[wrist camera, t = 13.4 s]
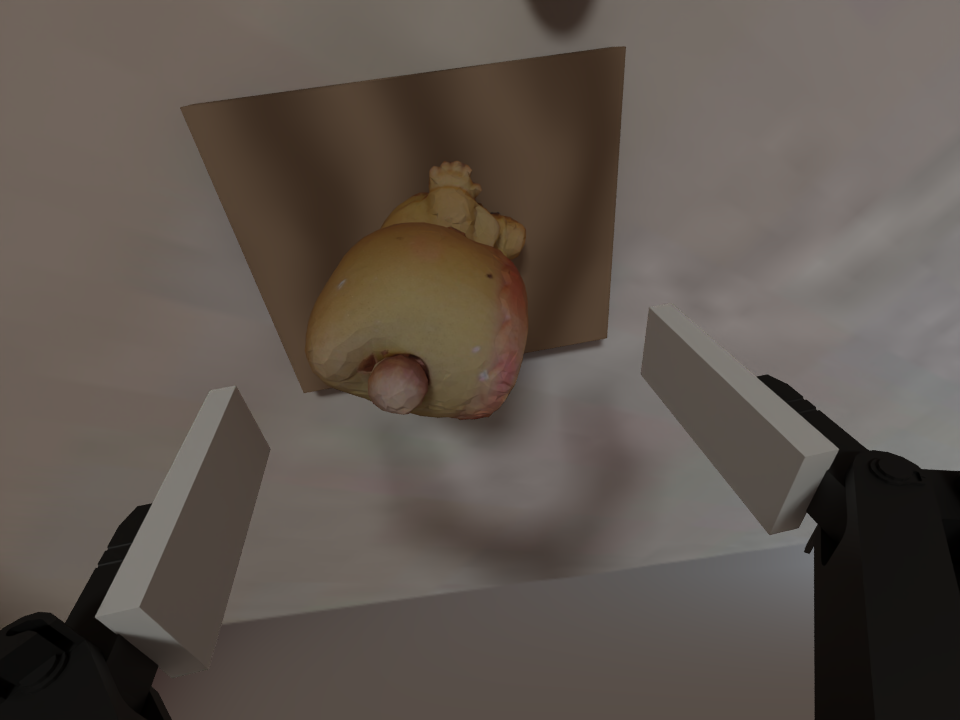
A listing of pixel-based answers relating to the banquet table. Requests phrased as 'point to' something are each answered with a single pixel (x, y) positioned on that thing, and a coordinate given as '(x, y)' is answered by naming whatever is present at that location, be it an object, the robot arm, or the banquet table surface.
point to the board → (426, 178)
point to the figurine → (427, 307)
